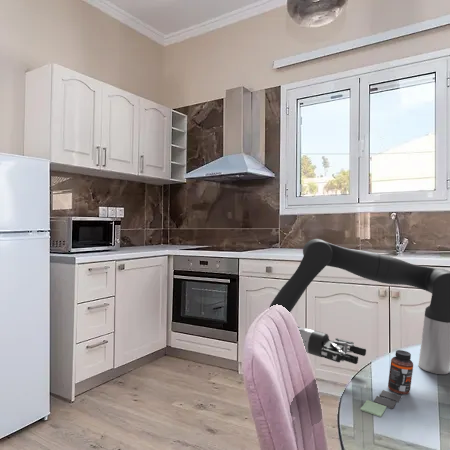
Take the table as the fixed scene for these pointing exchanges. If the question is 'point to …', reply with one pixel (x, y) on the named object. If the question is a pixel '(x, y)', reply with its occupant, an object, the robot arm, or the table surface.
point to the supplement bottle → (400, 373)
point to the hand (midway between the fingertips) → (361, 356)
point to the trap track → (381, 403)
